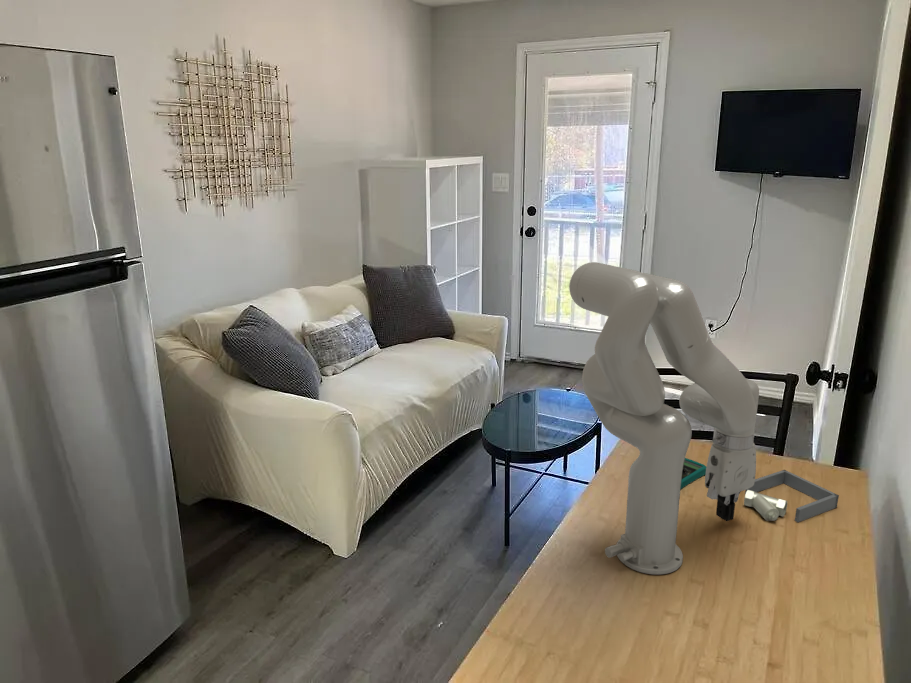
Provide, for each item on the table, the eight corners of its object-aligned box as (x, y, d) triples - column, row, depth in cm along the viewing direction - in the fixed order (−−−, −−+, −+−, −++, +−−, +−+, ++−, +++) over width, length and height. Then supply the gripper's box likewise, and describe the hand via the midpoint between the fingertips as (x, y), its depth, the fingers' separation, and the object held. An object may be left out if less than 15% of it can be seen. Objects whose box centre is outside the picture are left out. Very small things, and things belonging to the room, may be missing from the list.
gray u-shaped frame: (797, 522, 140) (799, 509, 139) (744, 493, 152) (746, 482, 151) (836, 507, 145) (838, 495, 144) (782, 481, 157) (784, 469, 156)
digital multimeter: (646, 484, 157) (647, 473, 157) (680, 464, 167) (681, 454, 166) (673, 496, 152) (674, 484, 151) (707, 475, 161) (708, 464, 160)
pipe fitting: (778, 528, 139) (786, 512, 144) (780, 512, 138) (788, 497, 143) (738, 516, 144) (747, 501, 149) (740, 500, 143) (749, 486, 147)
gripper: (721, 453, 127) (712, 536, 133) (774, 437, 134) (764, 516, 139) (692, 438, 134) (684, 518, 139) (743, 424, 140) (735, 500, 145)
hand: (724, 517), depth 139 cm, fingers closed
